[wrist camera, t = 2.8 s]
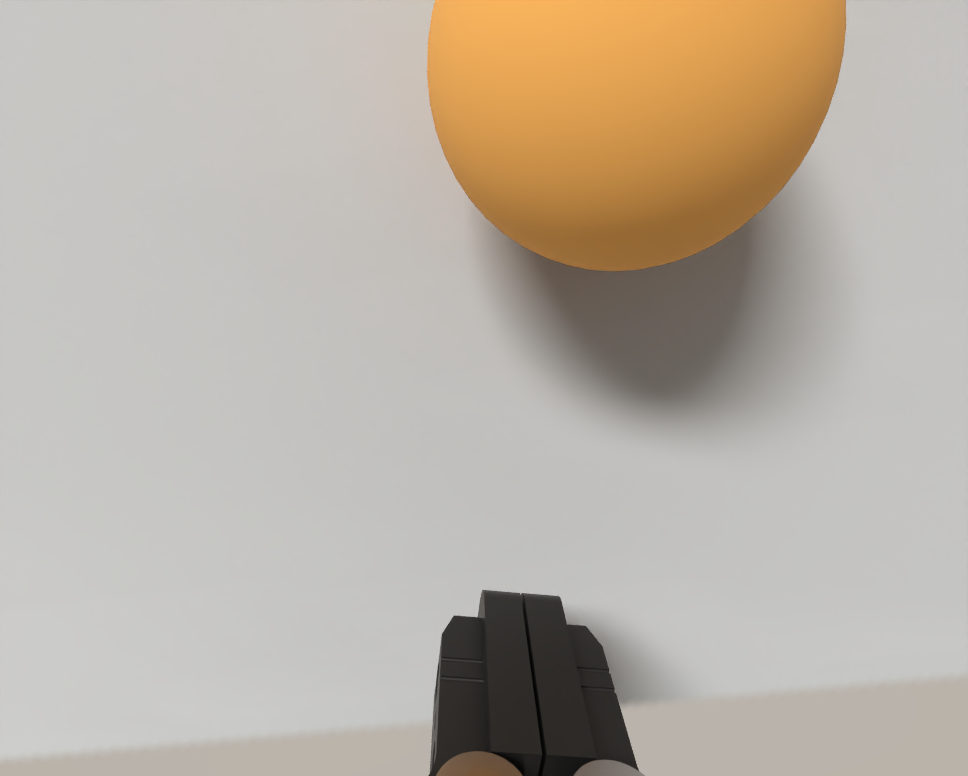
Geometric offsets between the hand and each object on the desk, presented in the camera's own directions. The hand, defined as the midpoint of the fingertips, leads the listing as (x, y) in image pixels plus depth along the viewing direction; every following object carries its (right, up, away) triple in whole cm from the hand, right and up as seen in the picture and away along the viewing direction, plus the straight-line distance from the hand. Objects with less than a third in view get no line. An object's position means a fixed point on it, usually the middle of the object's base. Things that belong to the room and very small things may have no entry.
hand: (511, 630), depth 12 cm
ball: (+1, +9, -3) cm, 10 cm away
